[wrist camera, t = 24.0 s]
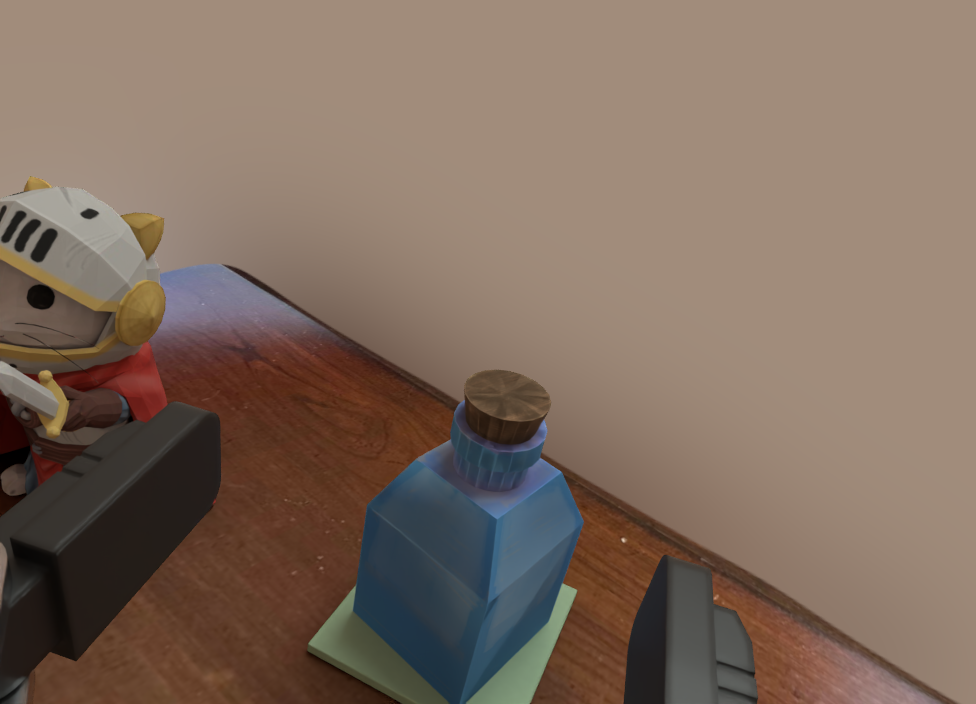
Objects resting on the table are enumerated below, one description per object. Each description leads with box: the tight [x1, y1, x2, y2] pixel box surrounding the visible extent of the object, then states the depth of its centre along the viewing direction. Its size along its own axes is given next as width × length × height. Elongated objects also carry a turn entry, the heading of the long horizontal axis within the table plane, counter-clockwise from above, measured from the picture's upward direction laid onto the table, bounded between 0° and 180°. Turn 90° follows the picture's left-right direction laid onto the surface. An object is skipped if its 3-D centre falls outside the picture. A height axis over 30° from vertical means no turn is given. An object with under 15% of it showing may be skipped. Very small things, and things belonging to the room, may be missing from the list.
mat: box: [308, 583, 577, 704], centre depth 31 cm, size 9×9×1 cm
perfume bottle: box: [353, 370, 584, 704], centre depth 28 cm, size 6×6×12 cm
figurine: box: [0, 176, 216, 505], centre depth 30 cm, size 13×12×15 cm
